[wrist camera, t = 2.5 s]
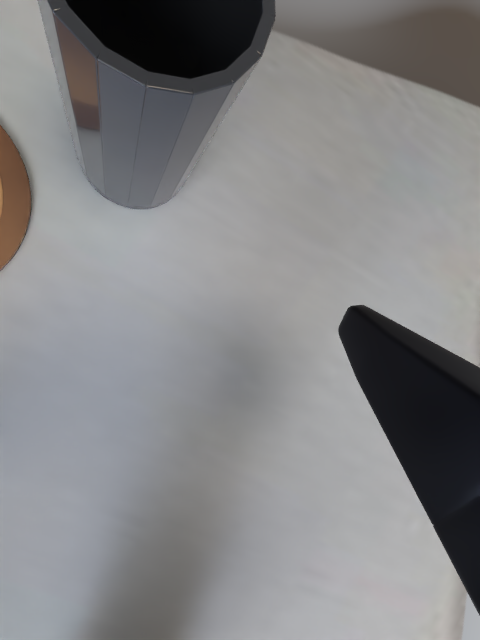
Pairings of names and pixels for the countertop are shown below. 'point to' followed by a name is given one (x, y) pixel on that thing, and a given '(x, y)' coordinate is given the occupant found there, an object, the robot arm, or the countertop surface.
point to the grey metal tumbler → (150, 84)
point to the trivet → (12, 199)
